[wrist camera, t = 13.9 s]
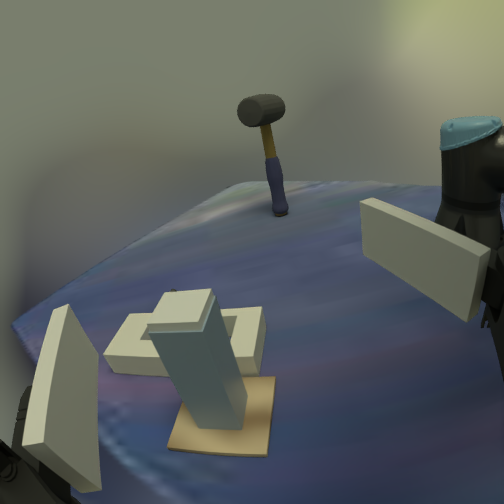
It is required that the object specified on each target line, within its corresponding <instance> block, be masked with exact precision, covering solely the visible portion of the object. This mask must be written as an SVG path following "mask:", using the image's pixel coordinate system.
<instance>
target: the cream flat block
mask: <svg viewBox="0 0 504 504" xmlns="http://www.w3.org/2000/svg"><path fill="white" fill-rule="evenodd" d="M170 292H177V291H176V290H175V289H171V291H170ZM221 314H222V317H223V320H224V324H225V327H226V330H227V333H228V336H232V338H231V341H230V343H231V346H232V349H233V352H234V355H235V358H236V361H237V364H238V368H239V371H240V374H241V377H259V374H260V367H261V361H262V354H263V347H264V340H265V334H266V323H265V318H264V314H263V309H262V307H250V308H237V309H222V310H221ZM151 315H152V313H141V314H129V316H128V317H127V319H126V320H125V322H124V323H123V325H122V326H121V328H120V329H119V331H118V332H117V334H116V335H115V337H114V338H113V340H112V341H111V343H110V345H109V346H108V348H107V349H106V351H105V352H104V354H103V355H104V357H105V358H106V360H107V362H108V363H109V365H110V367H111V368H112V370H113V372H114V373H121V374H133V375H147V376H164V377H170V376H169V374H168V372H167V370H166V369H165V367H164V365H163V363H162V361H161V359H160V357H159V355H158V353H157V351H156V349H155V347H154V345H153V342H152V340H151V338H150V336H149V334H148V332H149V328H148V326H147V322H148V320H149V319H150V317H151Z"/></svg>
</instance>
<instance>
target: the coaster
mask: <svg viewBox="0 0 504 504" xmlns="http://www.w3.org/2000/svg"><path fill="white" fill-rule="evenodd" d="M242 380H243V383H244V386H245V389H246V392H247V395H248V398H247V404H246V410H245V416H244V422H243V427H242V430H219V429H200V428H198V426H197V424H196V423H195V421H194V419H193V418H192V416H191V414H190V413H189V411H188V409H187V407H186V406H185V404H184V402H182V405H181V407H180V410H179V413H178V416H177V419H176V422H175V425H174V428H173V430H172V433H171V436H170V439H169V442H168V445H167V448H168V449H169V450H174V451H182V452H191V453H200V454H211V455H225V456H245V457H267V456H268V448H269V439H270V431H271V422H272V413H273V404H274V395H275V386H276V377H275V376H273V377H242Z"/></svg>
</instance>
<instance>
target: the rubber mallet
mask: <svg viewBox="0 0 504 504" xmlns="http://www.w3.org/2000/svg"><path fill="white" fill-rule="evenodd" d="M237 113H238V114H237V115H238V117H239V120H240V121H241V122H242V123H243V124H244V125H246V126H248V127H258V126H260V128H261V134H262V139H263V145H264V150H265V156H266V162H265V164H266V173H267V179H268V183H269V186H270V189H271V195H272V202H273V204H272V210H273V212H274V213H275V215H277V216H282V215H285V214H287V211H288V204H287V201H286V198H285V193H284V187H283V174H282V169H281V166H280V162H279V159H278V157H277V156H276V151H275V146H274V141H273V136H272V131H271V125H270V124H271V123H273V122H275V121H277V120H279V119H280V118H281V117H283V115H284V113H285V104H284V102H283V100H282V99H281V98H280V97H278V96H276V95H272V94H259V95H255V96H252V97H248V98H245V99H243V100H242V101H241V102H240V104H239V105H238V110H237Z"/></svg>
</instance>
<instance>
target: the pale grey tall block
mask: <svg viewBox="0 0 504 504" xmlns="http://www.w3.org/2000/svg"><path fill="white" fill-rule="evenodd" d="M147 326H148V328H149V332H148V334H149V336H150V338H151V340H152V342H153V345H154V347H155V349H156V351H157V353H158V355H159V357H160V359H161V361H162V363H163V365H164V367H165V369H166V370H167V372H168V374H169V376H170V378H171V380H172V382H173V384H174V386H175V387H176V389H177V391H178V393H179V395H180V397H181V398H182V400H183V402H184V404H185V406H186V407H187V409H188V411H189V413H190V414H191V416H192V418H193V419H194V421H195V423H196V424H197V426H198V428H200V429H219V430H242V427H243V422H244V416H245V410H246V404H247V398H248V395H247V392H246V389H245V386H244V383H243V380H242V377H241V374H240V371H239V368H238V364H237V361H236V358H235V355H234V352H233V349H232V346H231V343H230V340H229V336H228V333H227V330H226V327H225V324H224V320H223V317H222V314H221V310H220V307H219V304H218V301H217V297H216V296H213V292H212V289H202V290H190V291H177V292H165V293H164V295H163V296H162V298H161V300H160V301H159V303H158V305H157V307H156V308H155V310H154V312H153V313H152V315H151V317H150V319H149V320H148V322H147Z"/></svg>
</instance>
